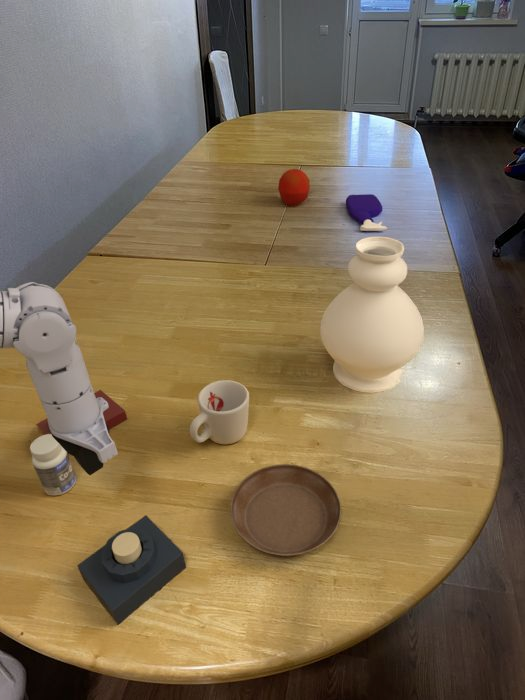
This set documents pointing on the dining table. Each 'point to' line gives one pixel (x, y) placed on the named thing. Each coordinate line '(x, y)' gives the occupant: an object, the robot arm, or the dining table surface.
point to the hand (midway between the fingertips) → (94, 468)
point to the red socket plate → (111, 415)
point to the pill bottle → (52, 465)
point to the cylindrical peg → (126, 548)
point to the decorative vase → (373, 320)
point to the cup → (222, 412)
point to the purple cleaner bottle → (365, 211)
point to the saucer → (285, 509)
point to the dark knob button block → (132, 570)
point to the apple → (294, 187)
